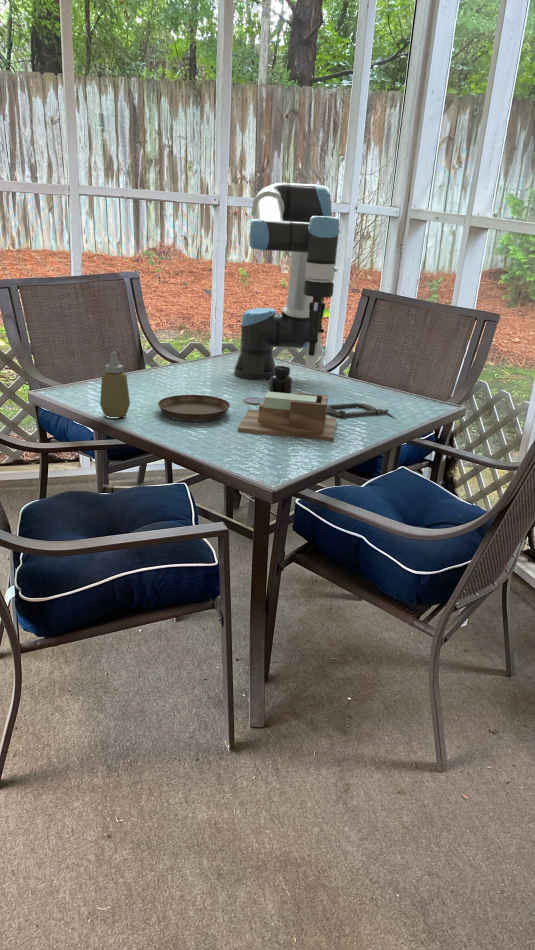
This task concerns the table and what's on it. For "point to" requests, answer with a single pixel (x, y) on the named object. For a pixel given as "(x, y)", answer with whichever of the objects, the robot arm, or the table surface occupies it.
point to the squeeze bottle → (114, 389)
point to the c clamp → (343, 414)
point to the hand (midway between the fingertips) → (312, 361)
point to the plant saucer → (194, 407)
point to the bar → (285, 400)
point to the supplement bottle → (281, 380)
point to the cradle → (292, 420)
